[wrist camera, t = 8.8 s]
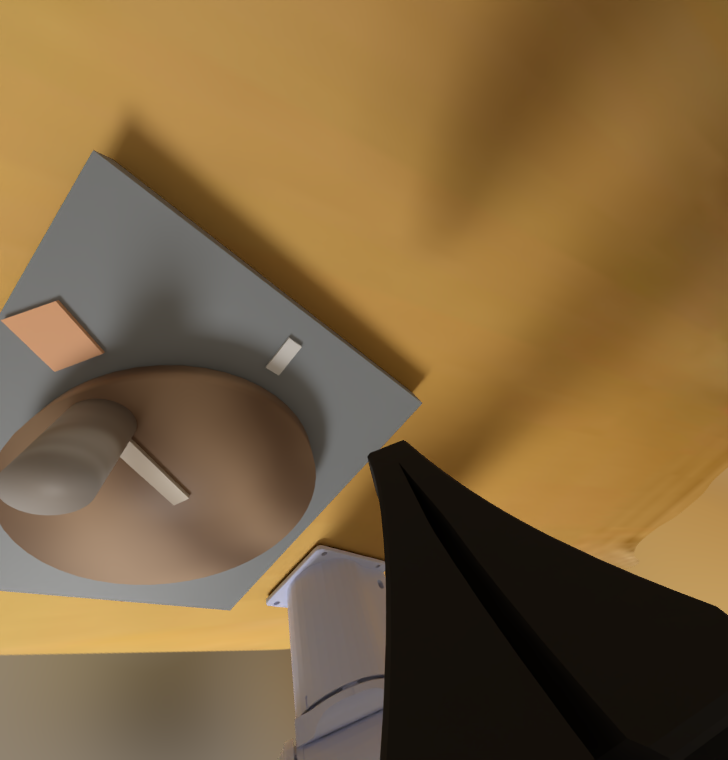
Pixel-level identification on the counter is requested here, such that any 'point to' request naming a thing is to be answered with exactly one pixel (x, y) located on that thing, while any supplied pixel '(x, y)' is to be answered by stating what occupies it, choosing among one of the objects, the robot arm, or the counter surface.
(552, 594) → the robot arm
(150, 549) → the dial
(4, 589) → the board
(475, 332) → the counter surface
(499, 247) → the counter surface
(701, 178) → the counter surface
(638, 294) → the counter surface
